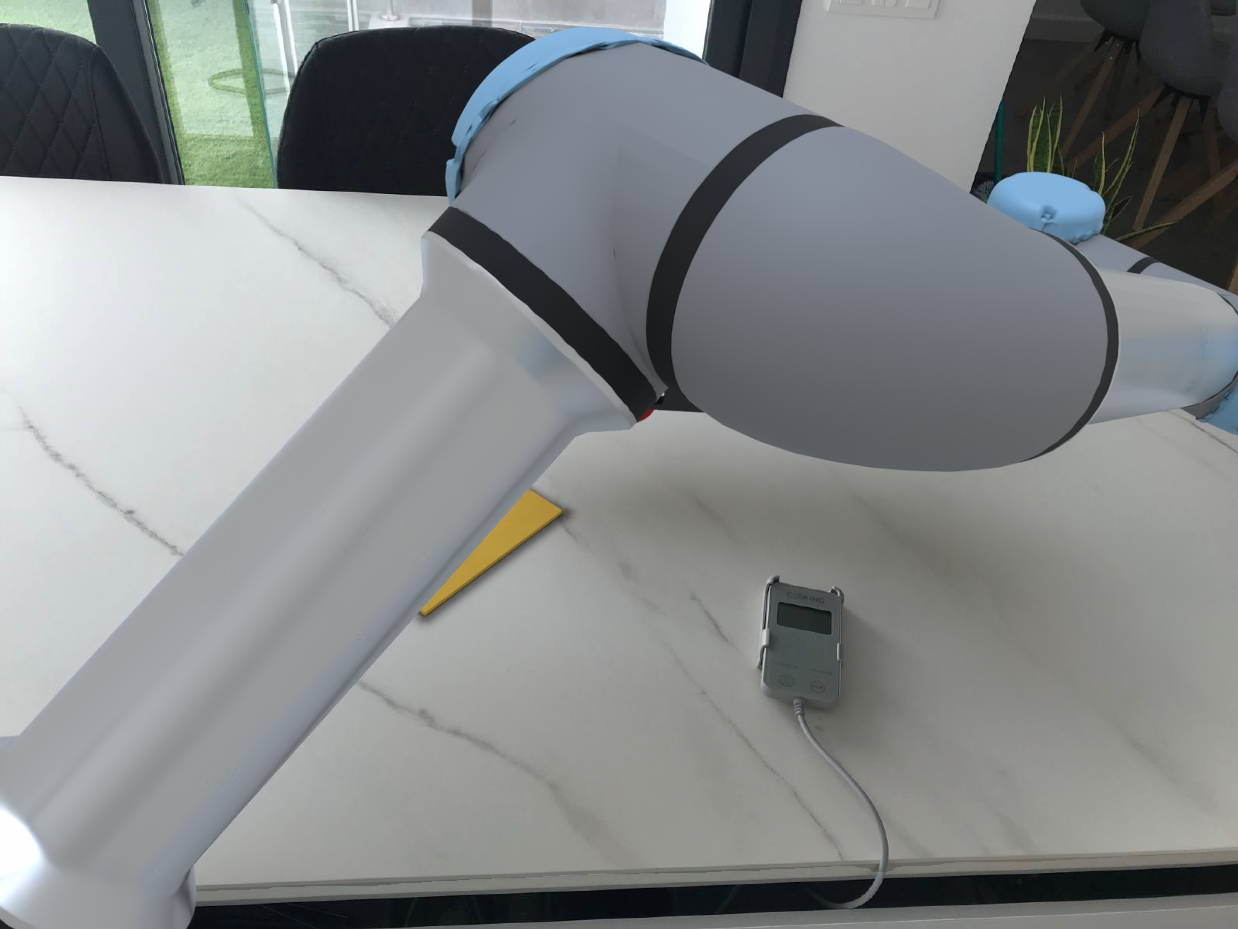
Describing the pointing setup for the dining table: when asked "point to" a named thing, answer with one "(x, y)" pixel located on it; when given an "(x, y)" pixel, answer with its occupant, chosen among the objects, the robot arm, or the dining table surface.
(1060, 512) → the dining table surface
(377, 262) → the dining table surface
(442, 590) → the yellow cloth
